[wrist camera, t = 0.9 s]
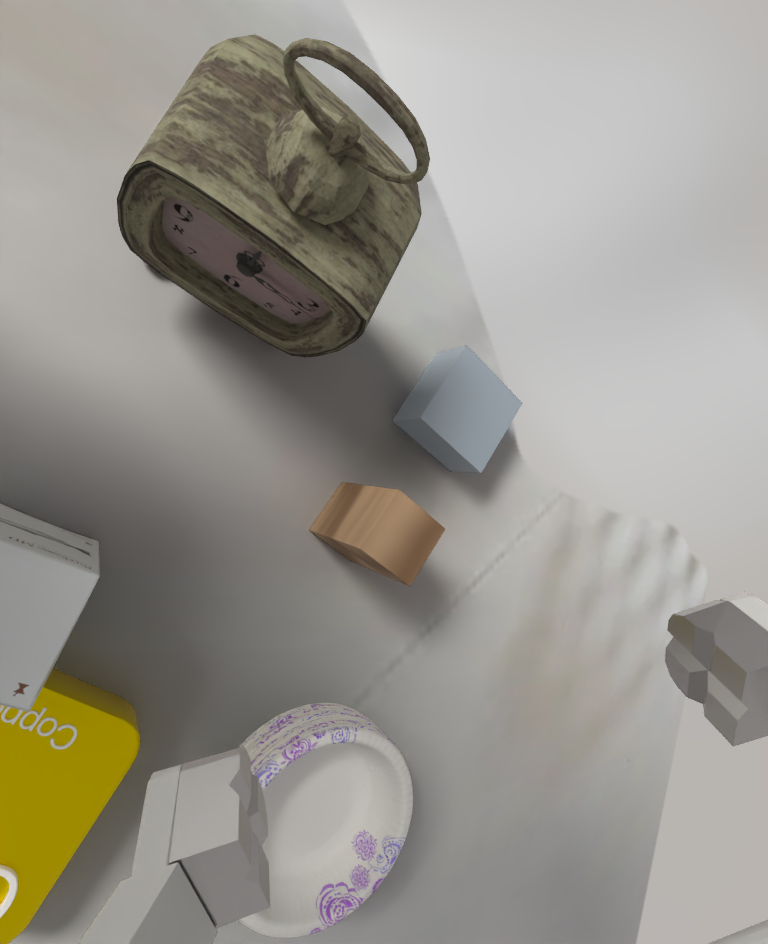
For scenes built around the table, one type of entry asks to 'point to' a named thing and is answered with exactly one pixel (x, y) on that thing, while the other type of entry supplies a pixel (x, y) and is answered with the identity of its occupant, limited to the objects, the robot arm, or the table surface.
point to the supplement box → (38, 600)
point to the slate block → (458, 410)
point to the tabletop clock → (276, 195)
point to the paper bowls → (326, 814)
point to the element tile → (55, 785)
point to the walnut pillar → (378, 530)
